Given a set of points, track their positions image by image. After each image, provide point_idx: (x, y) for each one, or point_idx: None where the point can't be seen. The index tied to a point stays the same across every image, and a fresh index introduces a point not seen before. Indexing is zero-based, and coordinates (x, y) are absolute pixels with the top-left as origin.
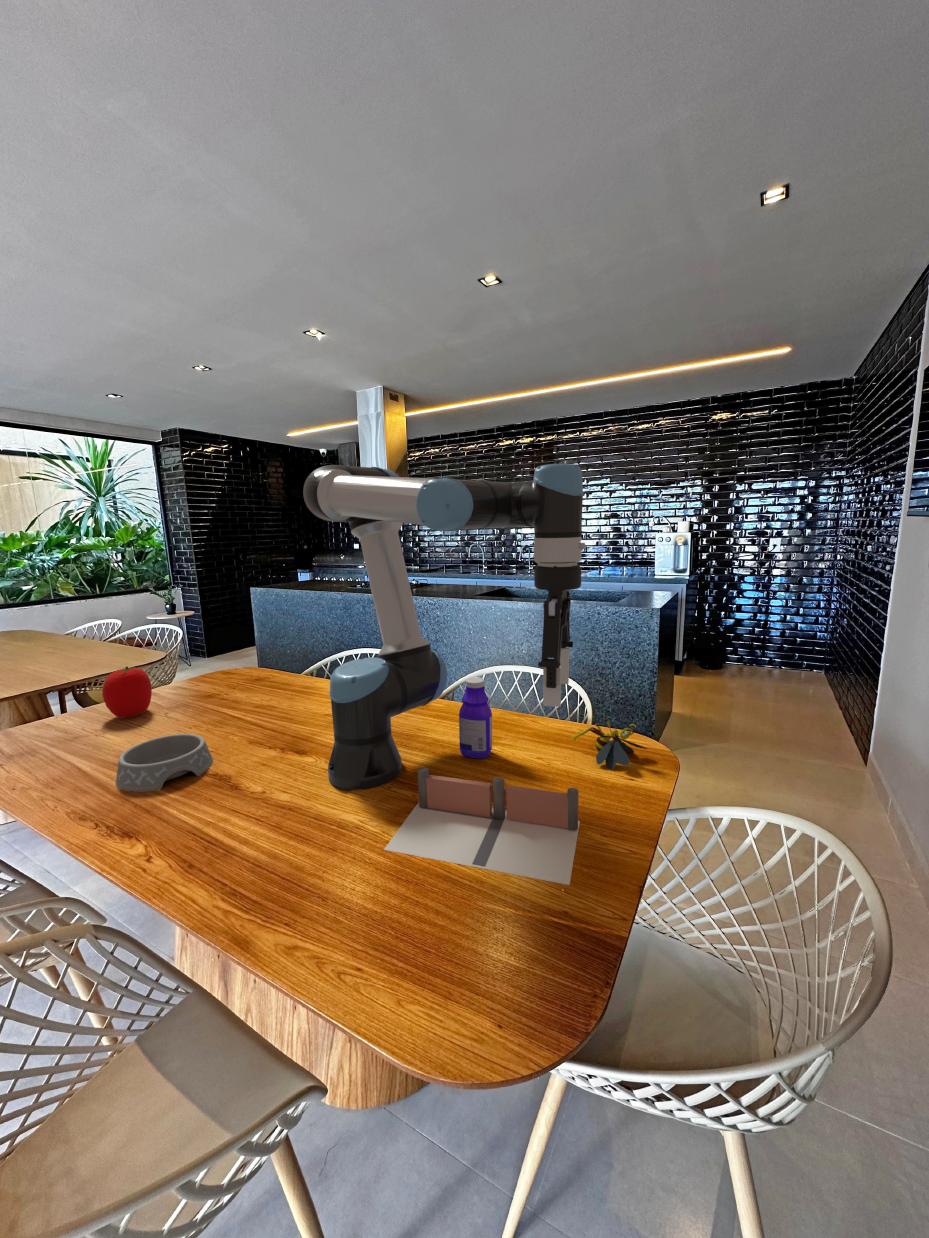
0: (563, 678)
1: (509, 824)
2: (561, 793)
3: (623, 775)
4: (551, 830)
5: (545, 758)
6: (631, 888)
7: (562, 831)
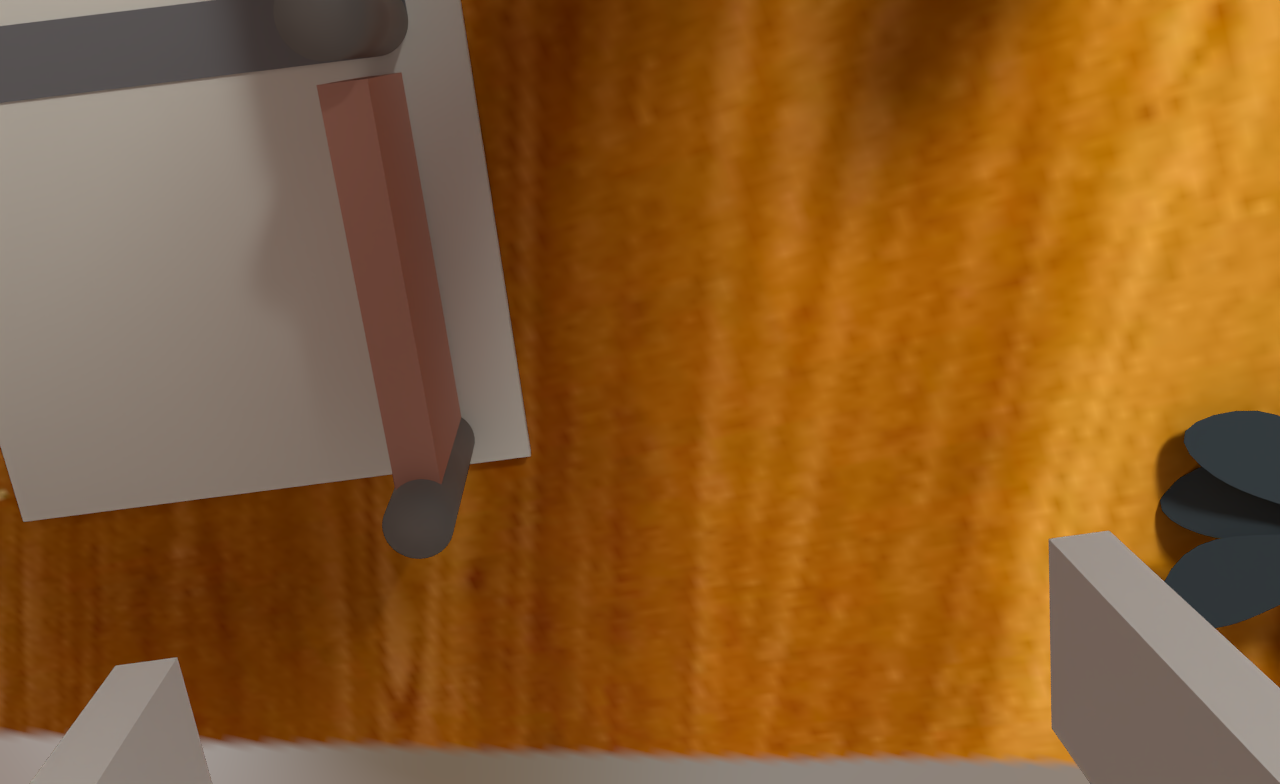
0: (1087, 719)
1: None
2: (422, 442)
3: None
4: None
5: (1230, 63)
6: None
7: None
